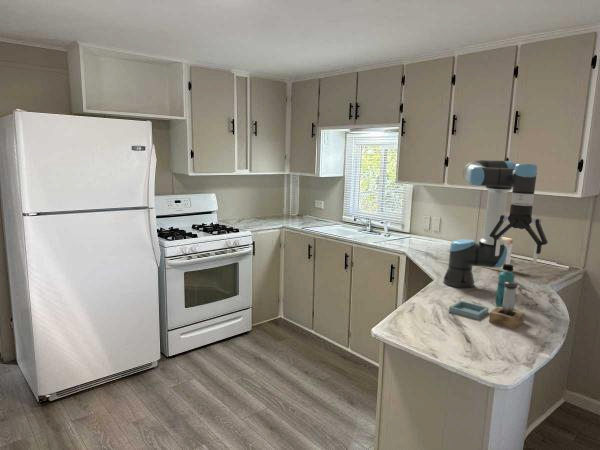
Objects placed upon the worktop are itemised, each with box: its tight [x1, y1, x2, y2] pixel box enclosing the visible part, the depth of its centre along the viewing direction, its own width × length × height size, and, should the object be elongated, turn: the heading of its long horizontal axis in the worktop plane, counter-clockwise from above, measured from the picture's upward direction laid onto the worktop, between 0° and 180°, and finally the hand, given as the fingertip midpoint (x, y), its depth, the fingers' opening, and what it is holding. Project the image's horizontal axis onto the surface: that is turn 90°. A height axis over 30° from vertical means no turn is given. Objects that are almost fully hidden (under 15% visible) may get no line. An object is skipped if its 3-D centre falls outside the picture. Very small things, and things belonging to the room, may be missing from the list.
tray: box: [448, 300, 490, 320], centre depth 180 cm, size 12×12×3 cm
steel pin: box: [502, 281, 518, 316], centre depth 169 cm, size 5×5×16 cm
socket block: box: [488, 306, 525, 330], centre depth 170 cm, size 10×10×5 cm
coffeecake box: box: [480, 236, 514, 272], centre depth 258 cm, size 15×7×20 cm, turn 42°
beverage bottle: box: [495, 264, 516, 307], centre depth 187 cm, size 6×7×20 cm
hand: (515, 258), depth 166 cm, fingers open, 13 cm apart
